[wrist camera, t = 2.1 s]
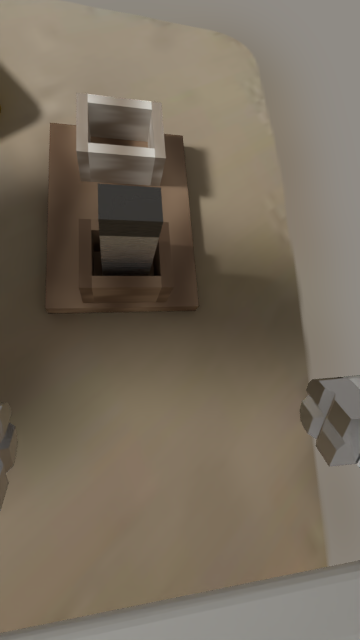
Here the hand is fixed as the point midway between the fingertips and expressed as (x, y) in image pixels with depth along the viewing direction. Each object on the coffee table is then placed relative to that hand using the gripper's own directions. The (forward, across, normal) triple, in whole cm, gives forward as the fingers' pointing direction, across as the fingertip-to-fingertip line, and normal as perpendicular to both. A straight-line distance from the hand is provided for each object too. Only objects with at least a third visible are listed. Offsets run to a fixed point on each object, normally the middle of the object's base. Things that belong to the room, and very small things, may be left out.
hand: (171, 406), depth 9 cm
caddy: (+29, 0, +2) cm, 29 cm away
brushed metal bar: (+23, 0, +5) cm, 23 cm away
